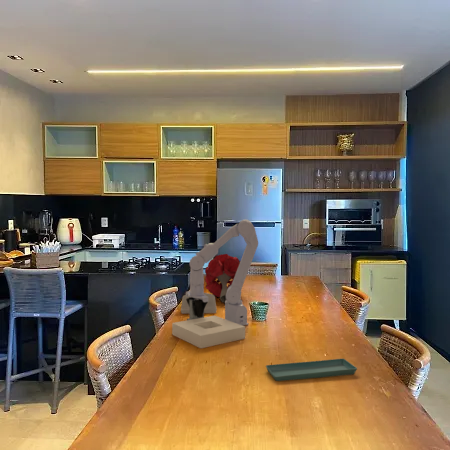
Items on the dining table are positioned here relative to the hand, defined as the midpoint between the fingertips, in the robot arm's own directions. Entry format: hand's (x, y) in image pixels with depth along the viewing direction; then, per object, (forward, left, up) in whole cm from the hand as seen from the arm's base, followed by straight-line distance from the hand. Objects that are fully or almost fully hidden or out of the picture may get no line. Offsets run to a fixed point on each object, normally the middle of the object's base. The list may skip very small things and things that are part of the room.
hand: (196, 315), depth 192 cm
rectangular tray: (-67, +2, -4) cm, 67 cm away
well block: (-19, +7, -3) cm, 20 cm away
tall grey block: (0, 0, -3) cm, 3 cm away
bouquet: (+34, -39, -3) cm, 51 cm away
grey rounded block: (+16, -11, -3) cm, 20 cm away
